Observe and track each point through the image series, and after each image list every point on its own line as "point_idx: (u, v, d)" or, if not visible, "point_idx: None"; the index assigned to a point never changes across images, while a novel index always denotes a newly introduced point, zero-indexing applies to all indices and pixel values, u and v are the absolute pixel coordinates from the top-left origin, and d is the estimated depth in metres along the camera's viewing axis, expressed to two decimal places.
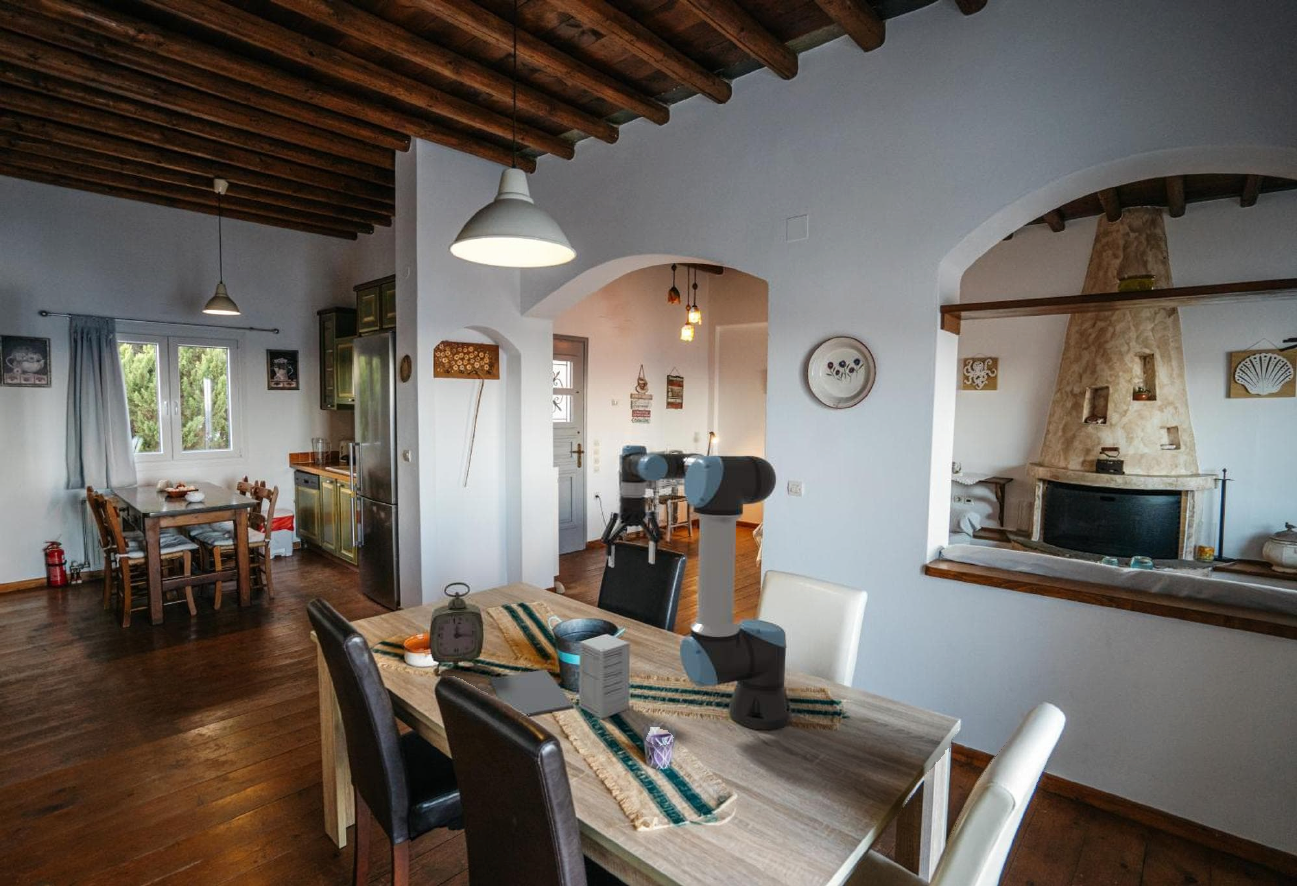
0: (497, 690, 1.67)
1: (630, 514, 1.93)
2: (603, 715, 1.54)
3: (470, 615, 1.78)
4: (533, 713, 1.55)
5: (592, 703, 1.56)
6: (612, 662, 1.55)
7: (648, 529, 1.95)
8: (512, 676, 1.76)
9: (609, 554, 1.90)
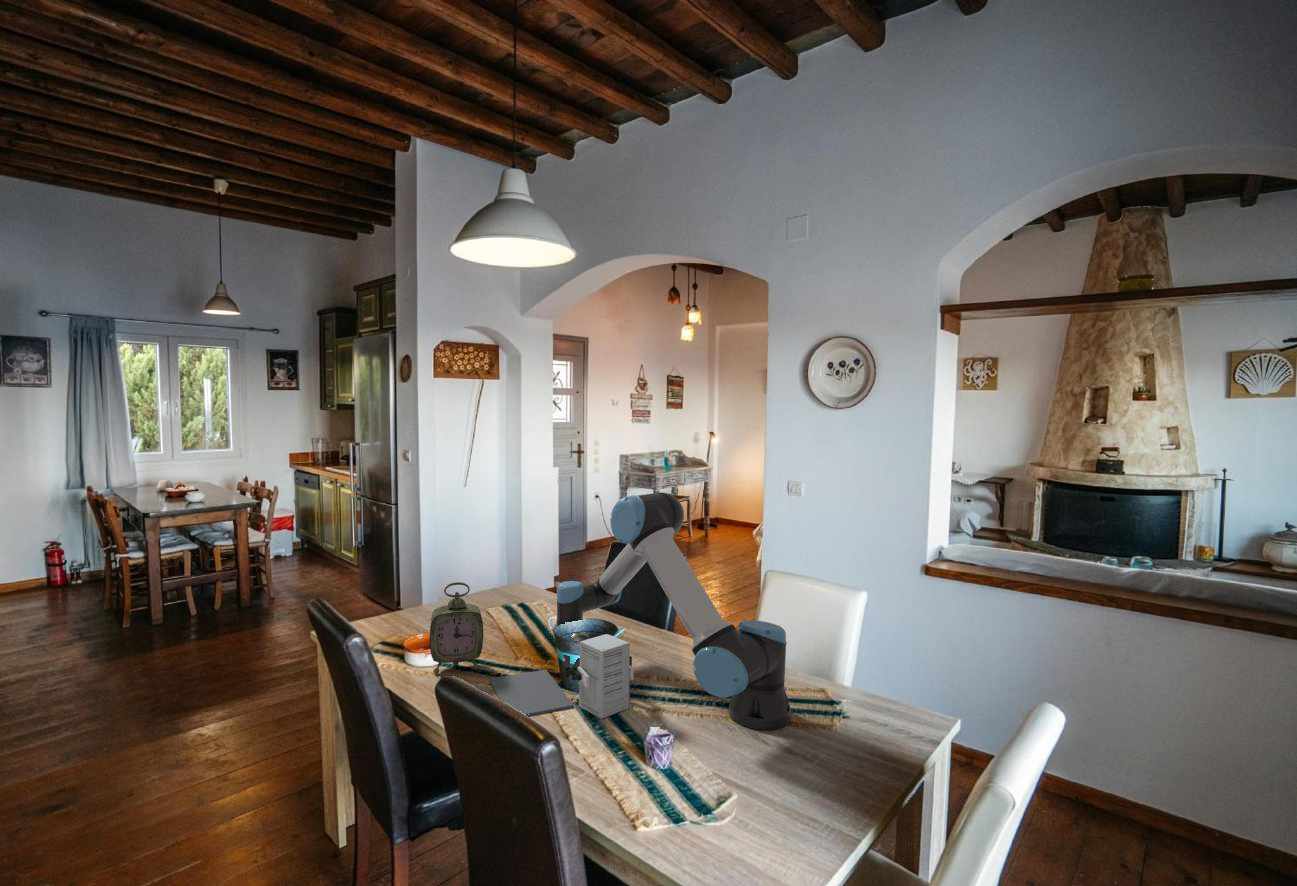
0: (497, 690, 1.67)
1: None
2: (603, 715, 1.54)
3: (470, 615, 1.78)
4: (533, 713, 1.55)
5: (592, 703, 1.56)
6: (612, 662, 1.55)
7: None
8: (512, 676, 1.76)
9: (578, 673, 1.56)
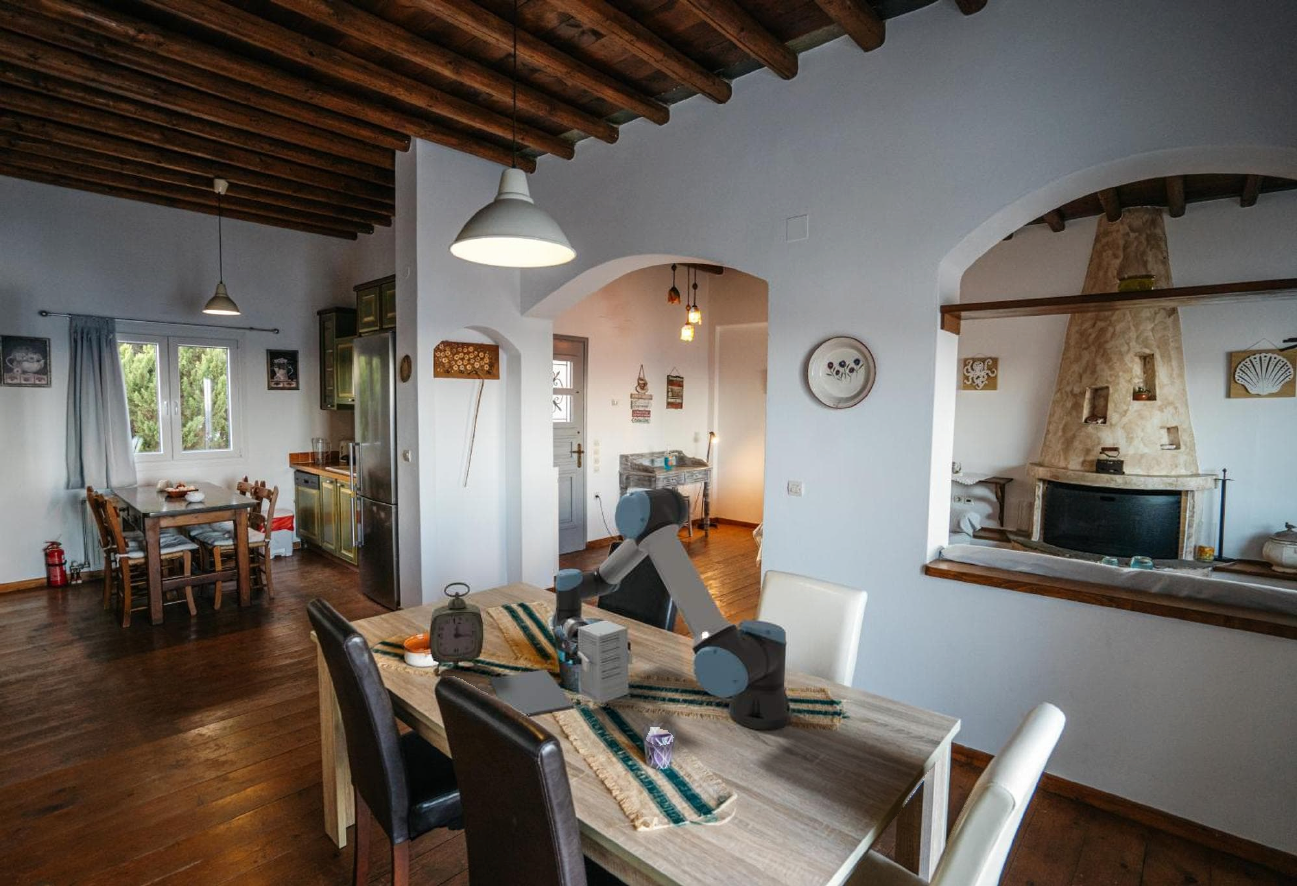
0: (497, 690, 1.67)
1: None
2: (602, 700, 1.54)
3: (470, 615, 1.78)
4: (533, 713, 1.55)
5: (591, 688, 1.56)
6: (609, 647, 1.55)
7: None
8: (512, 676, 1.76)
9: (578, 658, 1.57)
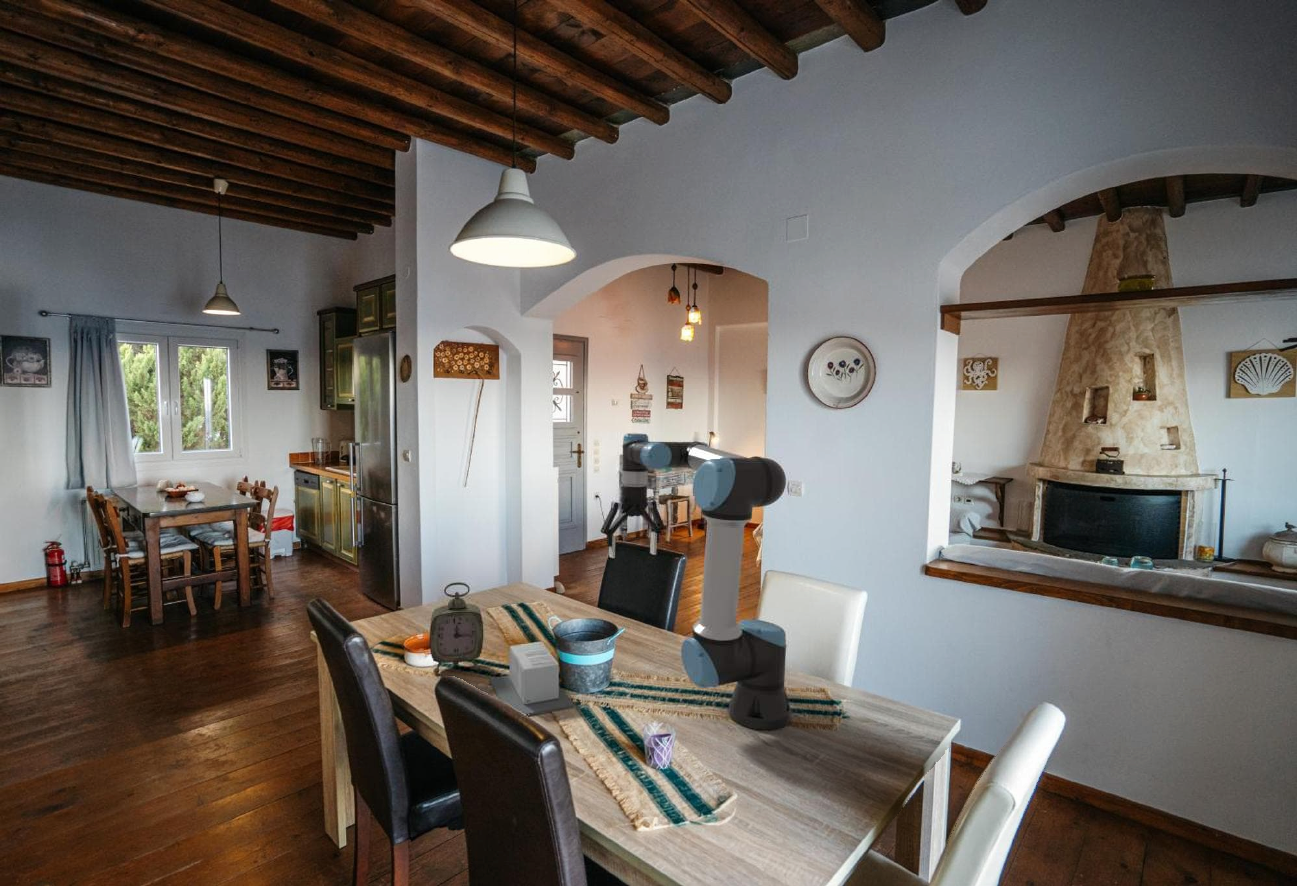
0: (497, 690, 1.67)
1: (631, 504, 1.88)
2: None
3: (470, 615, 1.78)
4: (533, 713, 1.55)
5: (511, 670, 1.71)
6: None
7: (650, 519, 1.91)
8: None
9: (610, 544, 1.86)
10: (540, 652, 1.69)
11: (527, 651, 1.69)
